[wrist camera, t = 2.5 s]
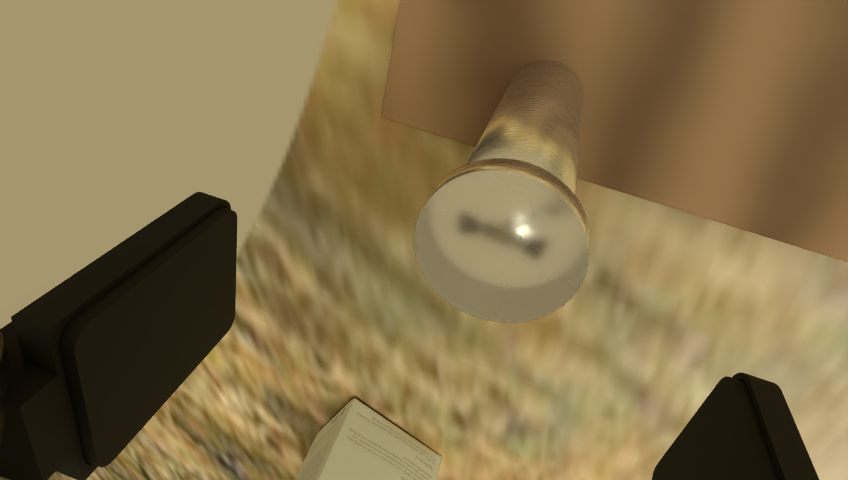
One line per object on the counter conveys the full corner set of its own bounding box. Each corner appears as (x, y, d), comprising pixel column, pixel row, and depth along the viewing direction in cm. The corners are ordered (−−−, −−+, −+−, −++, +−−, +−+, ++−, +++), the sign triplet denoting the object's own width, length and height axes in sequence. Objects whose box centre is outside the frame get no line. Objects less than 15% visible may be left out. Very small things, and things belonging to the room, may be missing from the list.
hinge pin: (608, 65, 21) (618, 206, 11) (573, 154, 24) (552, 343, 13) (512, 38, 22) (433, 148, 11) (486, 128, 24) (400, 290, 14)
